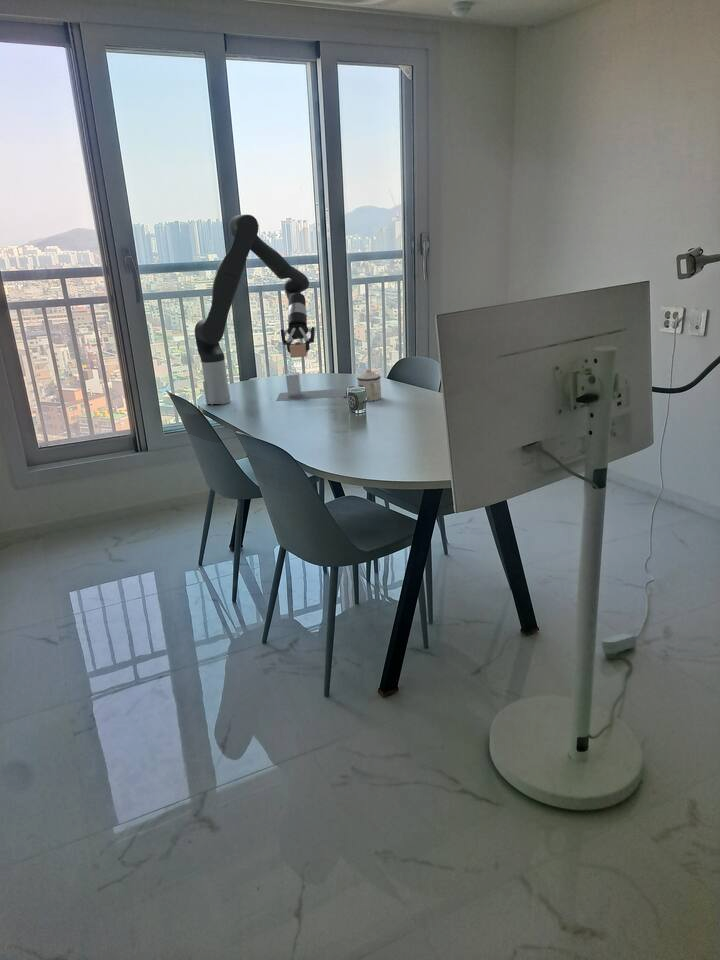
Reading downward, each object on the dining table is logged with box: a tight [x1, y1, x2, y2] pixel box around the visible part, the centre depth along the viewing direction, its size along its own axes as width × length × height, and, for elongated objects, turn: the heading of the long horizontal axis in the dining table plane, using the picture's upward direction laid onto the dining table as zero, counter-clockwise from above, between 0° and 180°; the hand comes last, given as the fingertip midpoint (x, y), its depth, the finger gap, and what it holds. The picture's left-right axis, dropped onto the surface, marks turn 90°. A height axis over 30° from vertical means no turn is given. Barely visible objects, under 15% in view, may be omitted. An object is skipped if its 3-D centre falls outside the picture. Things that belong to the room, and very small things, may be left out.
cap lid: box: [289, 341, 308, 359], centre depth 261 cm, size 6×6×5 cm
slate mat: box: [276, 388, 347, 402], centre depth 268 cm, size 28×14×1 cm, turn 90°
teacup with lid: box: [356, 368, 382, 402], centre depth 253 cm, size 12×9×12 cm
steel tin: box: [285, 371, 302, 398], centre depth 266 cm, size 5×5×9 cm
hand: (298, 351), depth 260 cm, fingers closed on cap lid, 6 cm apart
